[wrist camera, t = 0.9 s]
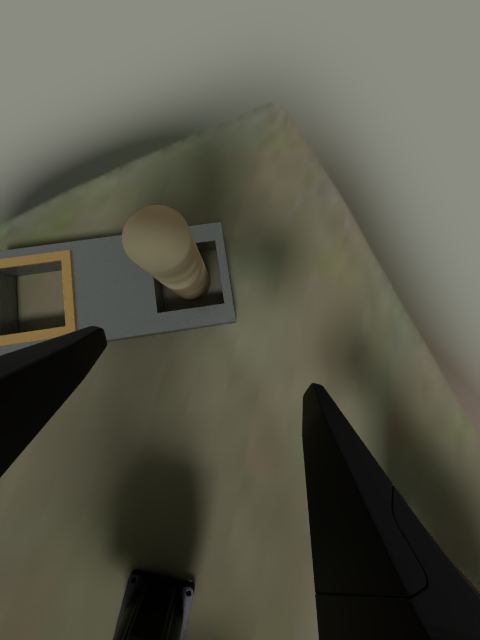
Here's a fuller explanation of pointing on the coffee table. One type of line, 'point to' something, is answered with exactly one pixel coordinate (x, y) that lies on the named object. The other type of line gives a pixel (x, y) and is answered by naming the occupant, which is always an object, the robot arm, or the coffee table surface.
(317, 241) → the coffee table surface
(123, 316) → the board with square holes
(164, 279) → the peg
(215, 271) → the coffee table surface
